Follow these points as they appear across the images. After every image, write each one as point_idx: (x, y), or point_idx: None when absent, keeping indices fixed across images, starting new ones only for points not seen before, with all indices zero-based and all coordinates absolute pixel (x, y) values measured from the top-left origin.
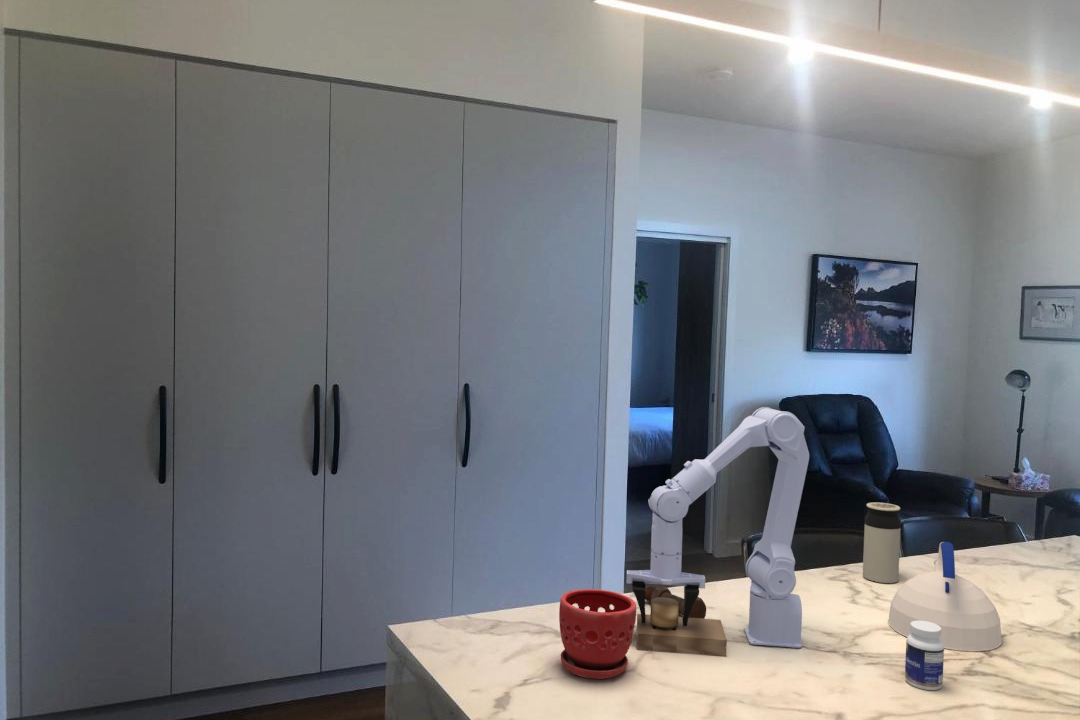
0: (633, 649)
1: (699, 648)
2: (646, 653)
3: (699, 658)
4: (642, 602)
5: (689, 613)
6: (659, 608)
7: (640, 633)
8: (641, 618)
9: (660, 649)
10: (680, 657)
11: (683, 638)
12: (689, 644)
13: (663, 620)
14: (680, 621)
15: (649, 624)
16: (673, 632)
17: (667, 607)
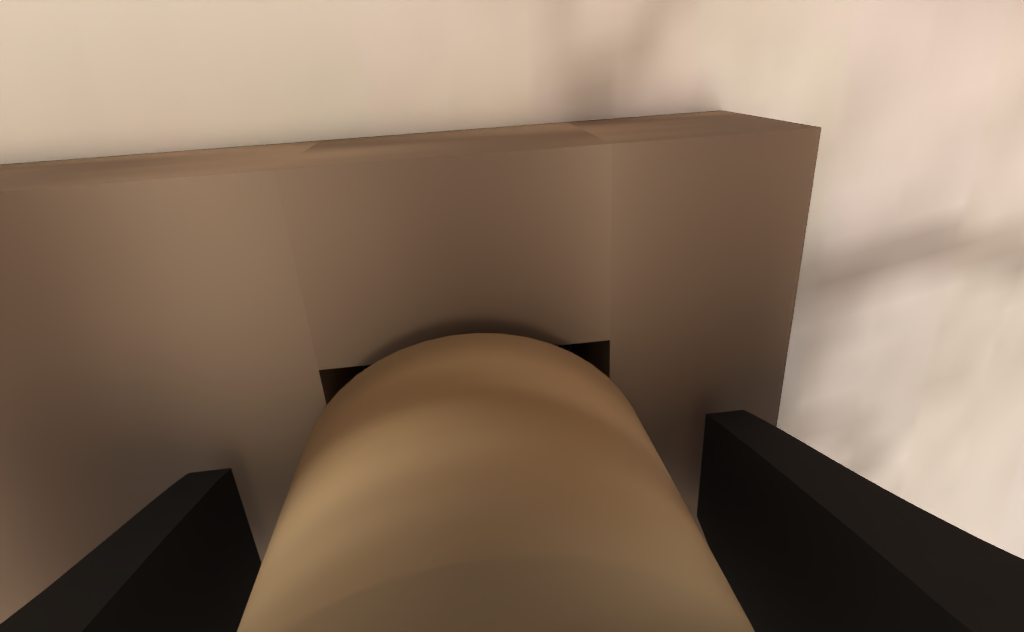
0: (753, 111)
1: (28, 169)
2: (629, 38)
3: (40, 47)
4: (999, 605)
5: (22, 611)
6: (605, 520)
7: (779, 134)
8: (786, 433)
9: (488, 131)
10: (258, 19)
11: (185, 172)
12: (134, 166)
13: (489, 381)
14: None
15: None
16: (341, 292)
17: (424, 558)
